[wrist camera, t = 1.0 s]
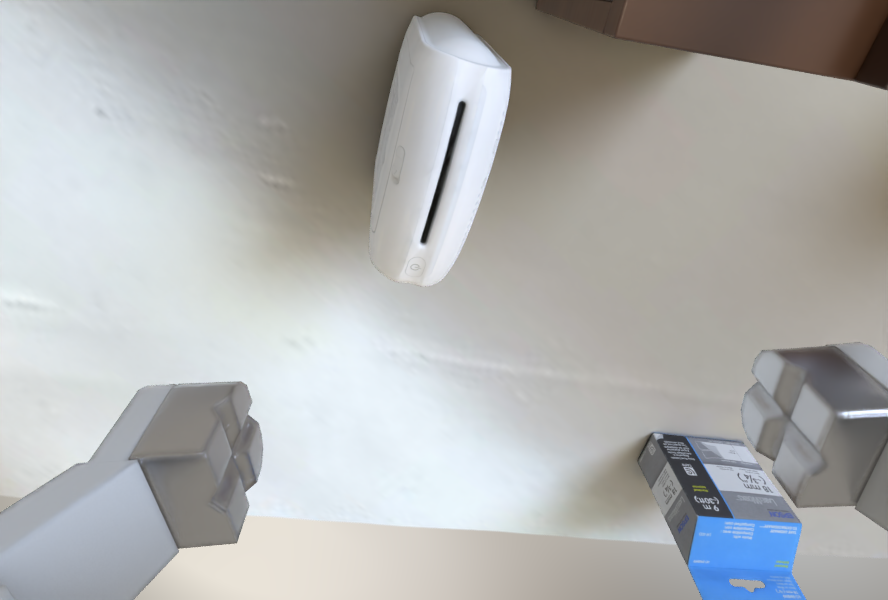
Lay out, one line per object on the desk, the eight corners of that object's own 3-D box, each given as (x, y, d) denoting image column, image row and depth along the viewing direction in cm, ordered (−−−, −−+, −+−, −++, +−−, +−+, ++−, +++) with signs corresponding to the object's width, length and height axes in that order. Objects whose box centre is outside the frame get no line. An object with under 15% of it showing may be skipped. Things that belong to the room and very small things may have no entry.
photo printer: (436, 204, 34) (455, 315, 23) (367, 188, 33) (355, 296, 22) (488, 25, 29) (543, 65, 18) (408, 0, 28) (418, 27, 17)
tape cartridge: (745, 440, 48) (844, 576, 37) (724, 470, 50) (813, 608, 39) (652, 430, 46) (728, 569, 36) (634, 462, 48) (701, 603, 38)
